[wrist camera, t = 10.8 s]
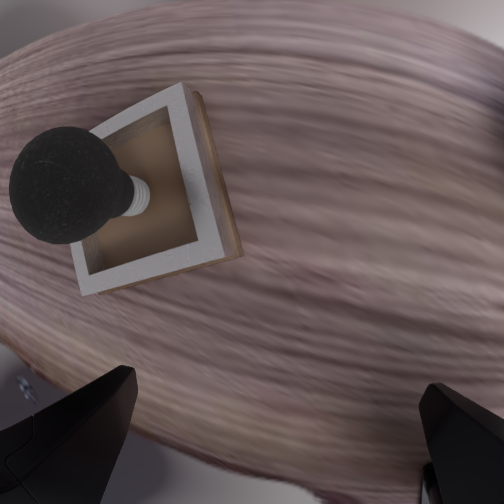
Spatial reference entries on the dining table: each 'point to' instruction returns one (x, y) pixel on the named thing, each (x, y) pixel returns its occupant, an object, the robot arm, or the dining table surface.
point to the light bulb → (71, 186)
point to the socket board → (160, 201)
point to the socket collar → (196, 183)
